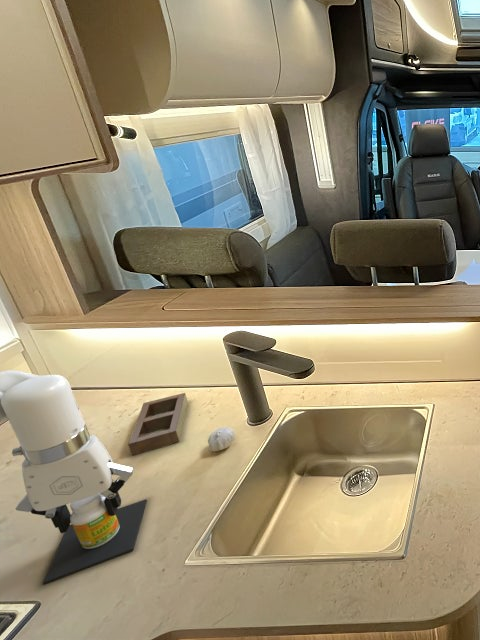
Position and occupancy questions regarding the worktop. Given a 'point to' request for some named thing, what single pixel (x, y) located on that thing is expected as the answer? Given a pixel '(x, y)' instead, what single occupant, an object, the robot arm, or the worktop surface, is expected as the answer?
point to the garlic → (221, 439)
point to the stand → (159, 424)
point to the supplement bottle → (93, 521)
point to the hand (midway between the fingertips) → (91, 517)
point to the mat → (79, 558)
